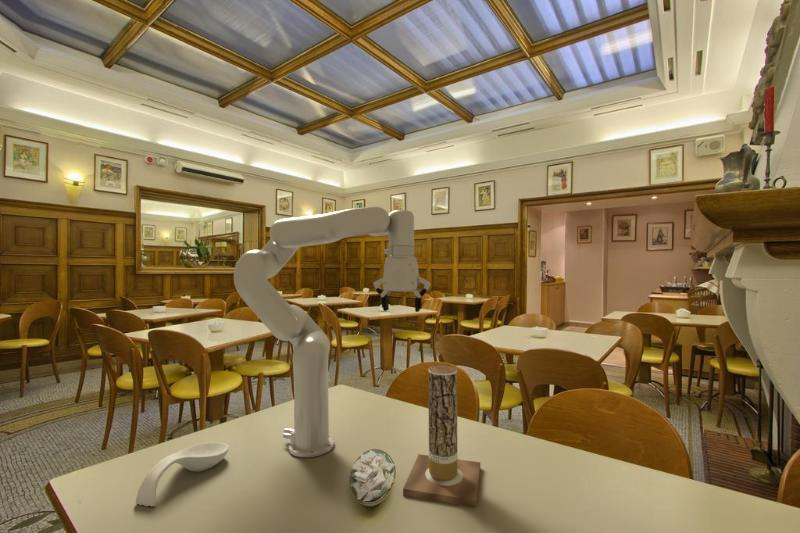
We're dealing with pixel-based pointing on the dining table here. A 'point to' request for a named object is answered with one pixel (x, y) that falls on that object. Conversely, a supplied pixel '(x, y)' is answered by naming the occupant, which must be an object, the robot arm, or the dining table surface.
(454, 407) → the bark print can
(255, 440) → the dining table surface
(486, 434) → the dining table surface
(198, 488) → the dining table surface
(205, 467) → the spoon rest
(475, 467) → the board
